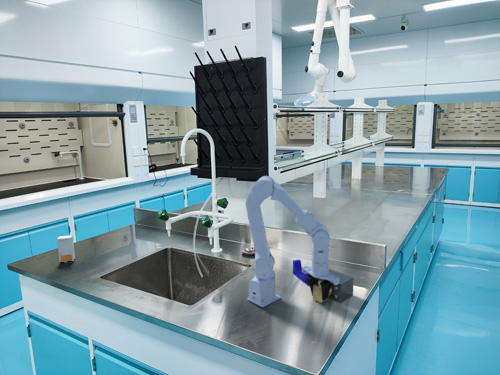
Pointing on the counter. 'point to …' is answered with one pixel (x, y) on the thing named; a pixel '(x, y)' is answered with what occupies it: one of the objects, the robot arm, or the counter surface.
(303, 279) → the cable clip
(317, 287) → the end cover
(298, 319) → the counter surface
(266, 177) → the robot arm
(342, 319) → the counter surface
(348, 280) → the block
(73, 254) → the skincare box
